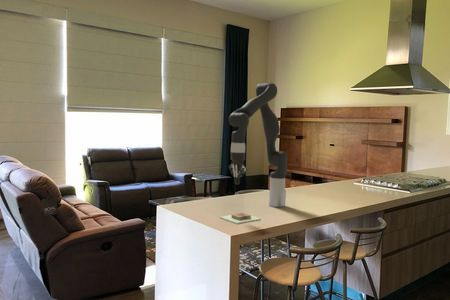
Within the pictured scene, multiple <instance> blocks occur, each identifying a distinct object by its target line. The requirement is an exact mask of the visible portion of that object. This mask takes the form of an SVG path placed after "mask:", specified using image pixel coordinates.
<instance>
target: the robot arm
mask: <svg viewBox="0 0 450 300" xmlns="http://www.w3.org/2000/svg"><path fill="white" fill-rule="evenodd" d="M255 93H256V96H255V97H254V98H251V99H250V100H248V101H247V102H246V103H245V104H244V105H242V107H240V108H238V109H236V110H235V111H233V112H232V113H230V115H229V117H228V123H229V125H230V126H232V127H238V128H237V130H235V131H232V132H231V144H230V160H231V163H230V165H228V170H229V172H230V174H231V176H233V177H234V178H233V179H234V184H235V185H240V183H241V177H244V175H245V174H246V171H248V168H247V167H245V160H246V134H247V130H248V127H249V123H250V118H251V117H253V115H255V113H257V112H258V110H260V115H261V119H262V127H263V131H264V137H265V143H266V153H267V154H266V155H267V161H268V164H269V165H270V166H272V167H277V168H276V170H275V171H271V172H270V173H269V194H268V195H269V197H268V198H269V199H268V205H269V206H270V207H273V208H282V207H285V206H286V197H287V195H286V194H287V190H286V175H287V171H288V161H289V160H288V157H289V156H288V154H287V153H286V152H285V151H280V150H279V151H278V150H276V141H277V138H278V137H279V134H280V131H281V129H280V121H279V119H278V116H276V114H275V113H274V111H273V110H272V109H271V107H270V105H269V102H271V101H272V100H273V99H275V98H276V97H277V94H278V88H277V85H276V83H273V82H265V83H264V82H261V83H258V84H257V85H256V88H255Z"/></svg>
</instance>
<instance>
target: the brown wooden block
mask: <svg viewBox="0 0 450 300" xmlns="http://www.w3.org/2000/svg"><path fill="white" fill-rule="evenodd" d="M231 215H232V216H231V218H233V219H236V220H244V219H250V218H251V216H252V215H251V214H249V213H245V212H240V213H233V214H231Z"/></svg>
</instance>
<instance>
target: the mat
mask: <svg viewBox="0 0 450 300" xmlns="http://www.w3.org/2000/svg"><path fill="white" fill-rule="evenodd" d="M232 215H233V214H230V215H223V216H219V218H220V219H221V220H225V221H228V222H230V223H233V224H235V225H240V224H244V223H249V222H250V223H251V222H256V221H260V220H262V219H261V218H260V217H256V216H254V215H251V218H250V219H244V220H236V219H233V218H231V216H232Z"/></svg>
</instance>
